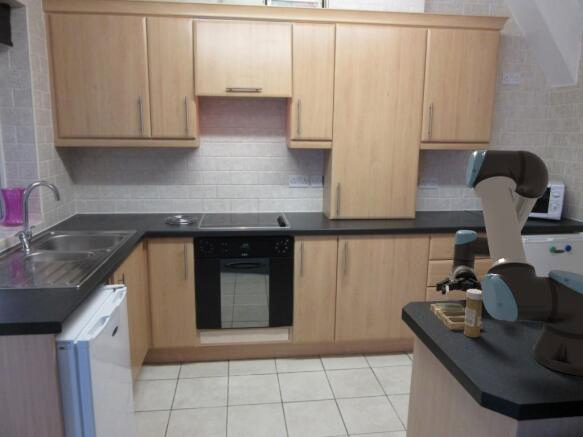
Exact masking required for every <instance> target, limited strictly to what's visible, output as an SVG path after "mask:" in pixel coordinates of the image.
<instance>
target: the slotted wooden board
mask: <svg viewBox="0 0 583 437" xmlns="http://www.w3.org/2000/svg"><path fill="white" fill-rule="evenodd" d="M430 311H431V312H432V313H433V314H434V315H435V316H436V317H437V318H438V319H439V320H440V321H441V322H442V323H443V324H444V325H445V326H446V327H447V329H449V330H450V331H454V330H455V331H457V330H459V331H460V330H462V331H464V329H465V311H466V307H464V306H463V305H462V304H460V303H455V302H454V303H452V302H451V303H450V302H449V303H448V302H447V303H444V302H443V303H441V302H439V303H438V302H437V303H431V304H430ZM483 324H484V323H483V322H482V321H481V325H480V330H483V328H484V325H483Z"/></svg>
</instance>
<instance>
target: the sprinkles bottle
mask: <svg viewBox="0 0 583 437" xmlns="http://www.w3.org/2000/svg"><path fill="white" fill-rule="evenodd" d="M465 293H466V294H465V296H466V302H465V309H466V311H465V329H464V330H463V334H464V335H465V336H467V337H470V338H479V337H480V336H481V329H480V325H481V322H482V312H483V310H482V306H483V298H482V291H480V290H477V289H469V290H467V292H465Z"/></svg>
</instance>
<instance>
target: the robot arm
mask: <svg viewBox="0 0 583 437" xmlns="http://www.w3.org/2000/svg"><path fill="white" fill-rule="evenodd" d="M549 180H550V179H549V170H548V168H547V165H546V164H545V162H544V161H543V159H542V158H541V157H540V156H538V155H537V154H536V153H534V152H532V151H528V150H508V149H507V150H500V149H499V150H498V149H497V150H496V149H493V150H492V149H489V150H488V149H482V150H475V151H473V152H472V153H471V155H470V157H469V159H468V163H467V168H466V173H465V186H466V187H467V188H469V189H472V188H473V191H474V194H475V196H476V197H477V198H478V199H480V201H481V207H482V213H483V214H482V215H483V219H484V227H485V232H486V236H478V233H477V232H476V231H474V230H467V229H460V230H457V231H456V233H455V237H454V246H453V251H454V252H453V262H452V266H451V273H452V276H453V280H452V279H451V278H450V277H445V279H443V280H441V281H439V282H437V283H436V284H435V285H436V286H435V292H441V295H443V296H444V295H445V300H446V301H447V300H448V301H449V299H450V292H452V291H462V292H464V293H467V290H469V289H477V290H480V291H482V298H483V300H482V303H483V305H484V308H485V310H486V311H487V313H488V314H489V316H491V317H492V318H493V319H494V320H499V321H506V322H510V323H511V322H524V323H525V322H526V323H538V324H539V323H541V324H542V323H543V326H542V329H541V331H540V333H539V335H538V337H537V339H536V341H535V343H534V344H533V347H532V357H533V358H534V360H535V361H536V362H538V364H541V365H542V366H544V367H546V368H548V369H551V370H553V371H556V372H560V373H562V374H567V375H572V376H581V377H583V274H580V273H575V272H572V271H567V270H561V269H552V270H550V271H549V272H548V274H547V276H537V273H536V268H535V266H534V265H533V264H531V263H529V262H528V261H527V257H526V252H525V248H524V247H525V246H524V243H523V238H522V234H521V231H522V230H523V228H524V227H525V224H526V222H527V220H528V218H529V216H530V214H531V212H532V210H533V208H534V206H535V204H536V203H537V200H538V199H540V198H542V197H543V196H544V194H545V192H546V190H547V188H548V186H549ZM476 257H485V258H486V257H487V258H490V264H491V266H490V267H489V268H488V269H487V271H486V274H485V275H484V276H483V277H482V279H481V282H480V281H478V278H477V275H476V272H475V261H476Z"/></svg>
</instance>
